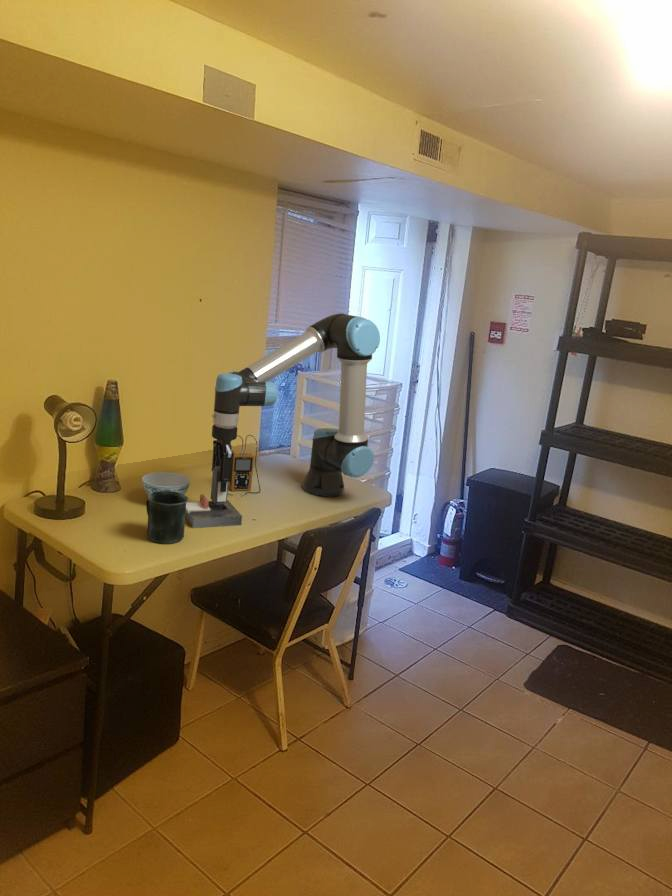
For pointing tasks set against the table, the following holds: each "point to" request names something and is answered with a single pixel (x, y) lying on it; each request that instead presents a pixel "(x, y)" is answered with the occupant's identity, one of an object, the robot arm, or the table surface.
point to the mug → (166, 516)
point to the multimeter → (242, 471)
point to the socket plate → (215, 516)
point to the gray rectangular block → (216, 485)
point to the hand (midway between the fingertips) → (218, 498)
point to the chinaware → (165, 482)
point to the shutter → (198, 505)
